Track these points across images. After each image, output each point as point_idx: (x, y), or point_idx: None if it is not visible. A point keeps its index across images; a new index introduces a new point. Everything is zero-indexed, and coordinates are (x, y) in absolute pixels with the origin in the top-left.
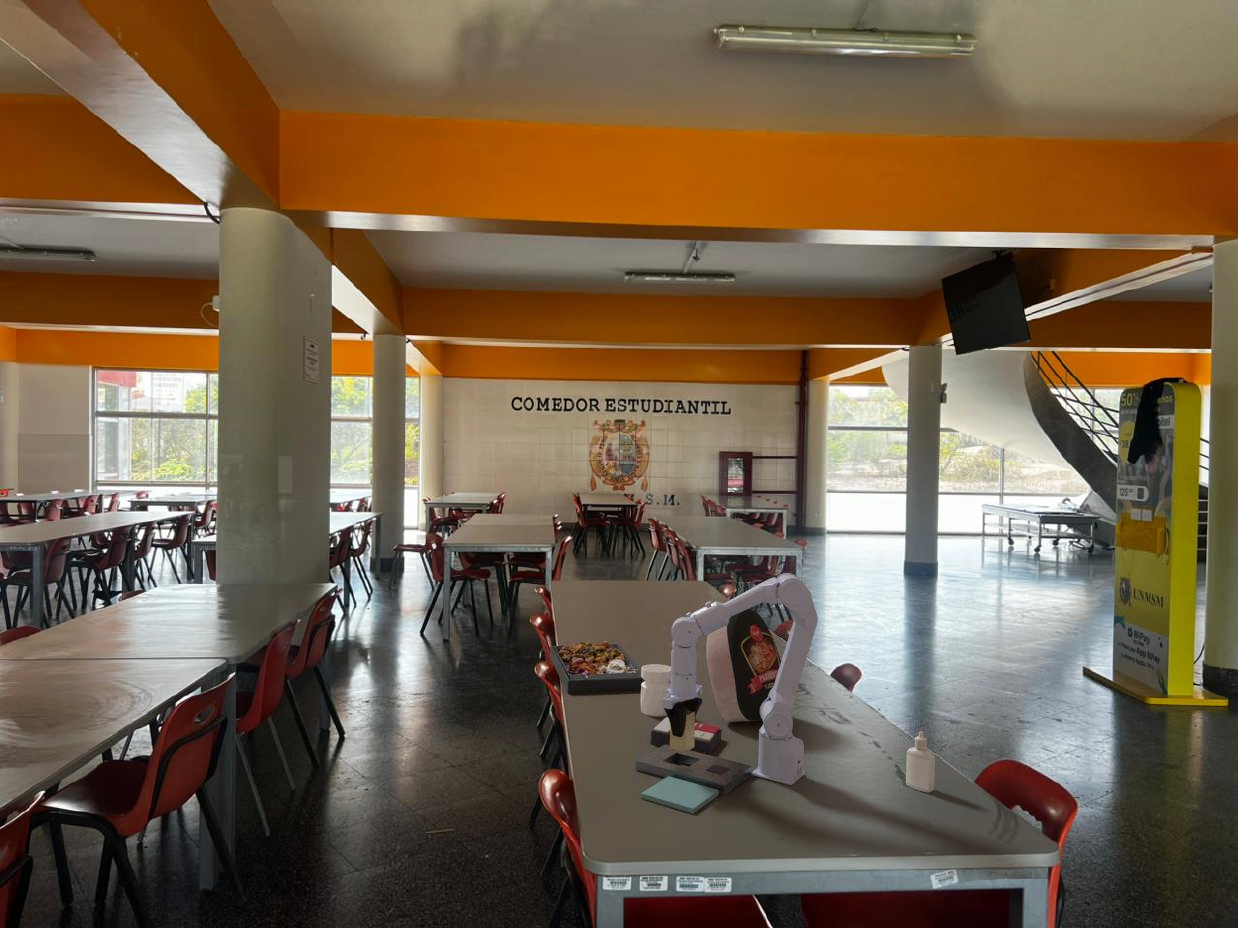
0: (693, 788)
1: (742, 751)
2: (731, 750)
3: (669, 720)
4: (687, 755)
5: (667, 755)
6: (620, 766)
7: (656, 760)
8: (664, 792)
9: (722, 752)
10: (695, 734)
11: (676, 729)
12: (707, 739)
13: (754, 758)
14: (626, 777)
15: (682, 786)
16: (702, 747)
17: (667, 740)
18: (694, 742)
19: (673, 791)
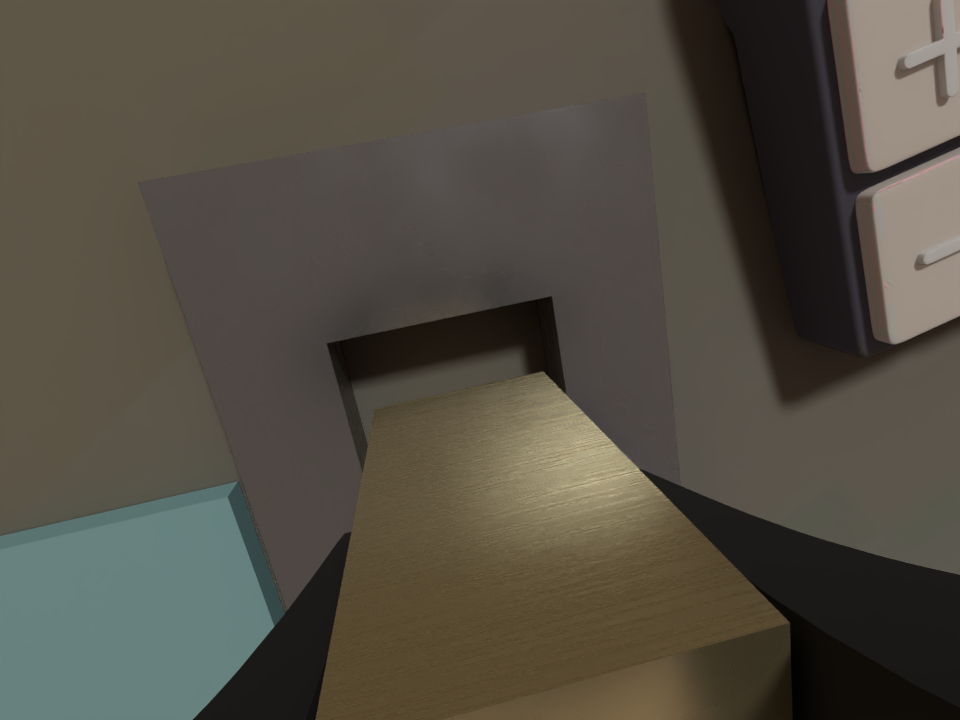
0: None
1: (942, 444)
2: (923, 393)
3: (219, 696)
4: (568, 389)
5: (453, 289)
6: (107, 45)
7: (298, 305)
8: (11, 656)
9: (863, 380)
10: (922, 204)
11: None
12: (886, 334)
13: (884, 548)
14: (4, 252)
15: (185, 653)
16: (814, 301)
17: (759, 10)
18: (823, 245)
19: (77, 674)
